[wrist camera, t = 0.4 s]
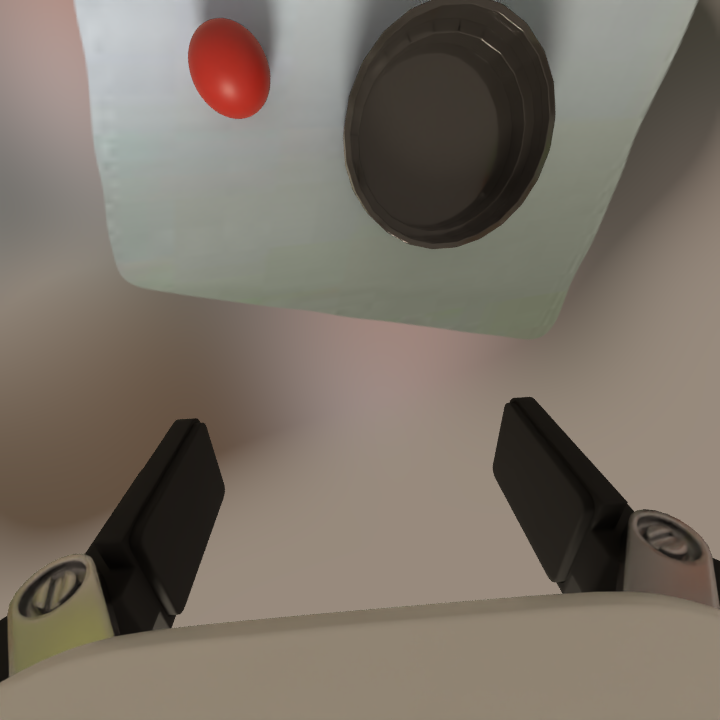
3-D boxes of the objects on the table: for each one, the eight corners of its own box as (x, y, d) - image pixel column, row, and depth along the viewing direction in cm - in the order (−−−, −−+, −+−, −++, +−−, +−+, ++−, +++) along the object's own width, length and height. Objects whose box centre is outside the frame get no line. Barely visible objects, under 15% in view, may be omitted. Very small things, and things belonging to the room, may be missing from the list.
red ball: (228, 15, 28) (202, -25, 22) (289, 78, 30) (279, 56, 24) (190, 84, 29) (158, 63, 24) (250, 140, 32) (233, 131, 26)
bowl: (438, -34, 27) (461, -81, 22) (556, 137, 33) (595, 129, 28) (306, 154, 32) (301, 149, 27) (428, 272, 38) (442, 285, 33)
